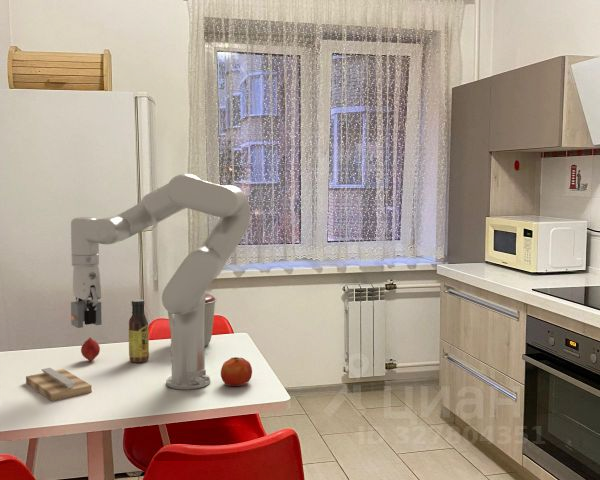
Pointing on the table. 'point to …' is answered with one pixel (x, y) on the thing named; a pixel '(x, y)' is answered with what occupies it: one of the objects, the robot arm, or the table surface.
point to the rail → (58, 378)
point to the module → (78, 313)
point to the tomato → (236, 371)
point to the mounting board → (58, 386)
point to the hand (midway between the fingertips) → (86, 321)
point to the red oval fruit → (90, 349)
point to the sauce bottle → (138, 333)
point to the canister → (205, 317)
